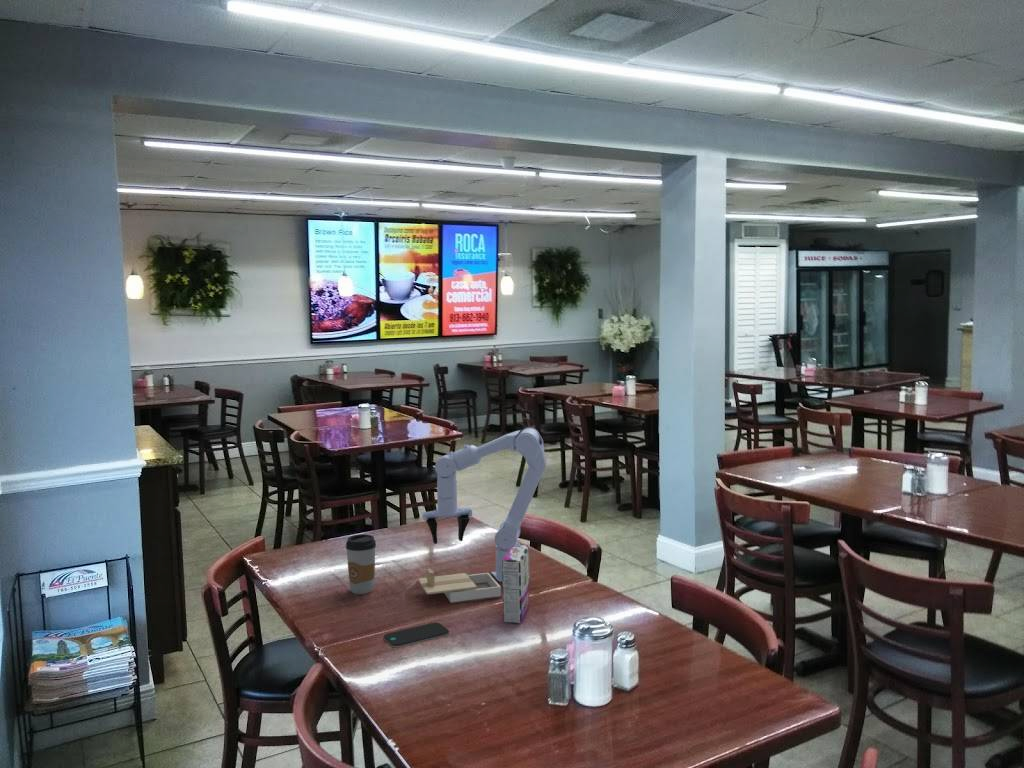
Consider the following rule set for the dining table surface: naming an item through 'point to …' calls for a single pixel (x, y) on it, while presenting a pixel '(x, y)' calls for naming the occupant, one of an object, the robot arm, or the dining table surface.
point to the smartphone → (416, 634)
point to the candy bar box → (515, 584)
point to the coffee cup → (361, 563)
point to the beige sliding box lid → (446, 583)
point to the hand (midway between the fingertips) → (447, 541)
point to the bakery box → (476, 590)
